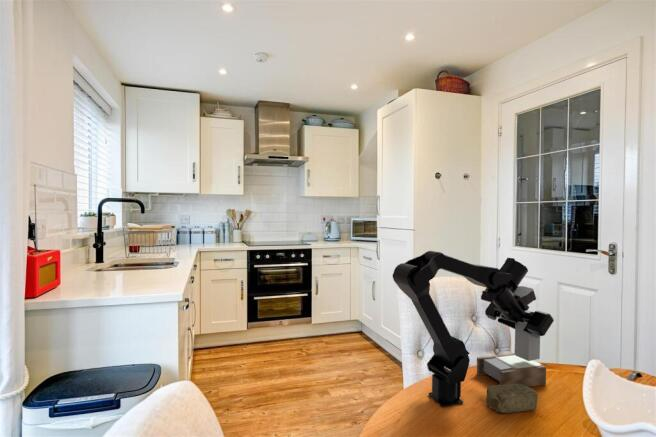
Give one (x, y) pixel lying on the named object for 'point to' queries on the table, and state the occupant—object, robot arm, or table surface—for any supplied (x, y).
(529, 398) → the stone block
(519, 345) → the granite pillar
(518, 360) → the trapdoor flap
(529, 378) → the frame
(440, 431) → the table surface
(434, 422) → the table surface
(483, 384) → the table surface
